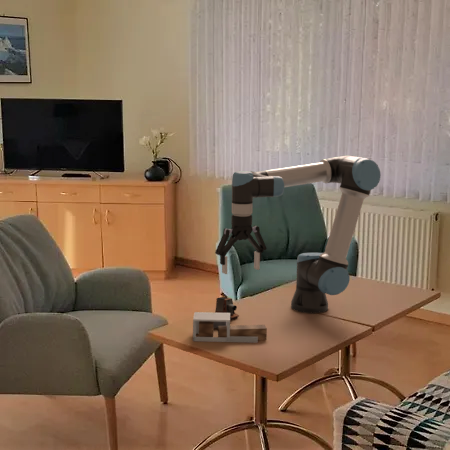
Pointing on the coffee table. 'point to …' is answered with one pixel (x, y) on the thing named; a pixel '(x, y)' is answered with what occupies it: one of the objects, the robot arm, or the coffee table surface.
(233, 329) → the rod
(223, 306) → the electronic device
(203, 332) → the block
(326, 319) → the coffee table surface
